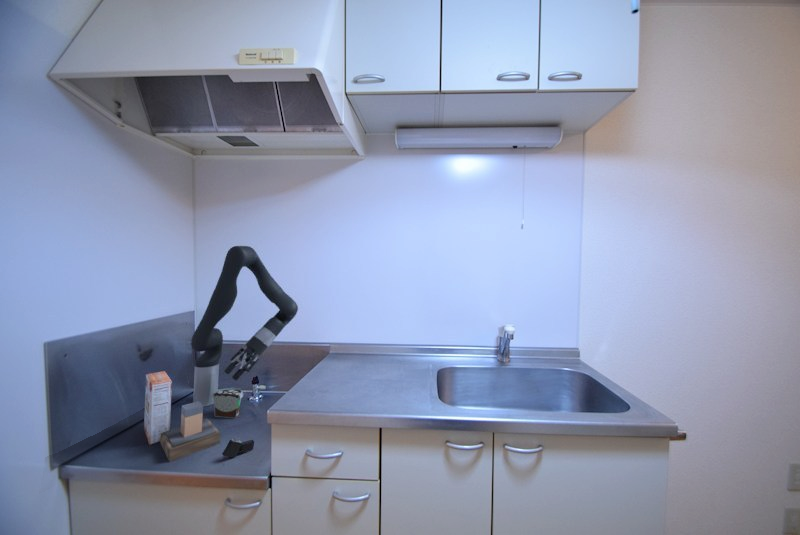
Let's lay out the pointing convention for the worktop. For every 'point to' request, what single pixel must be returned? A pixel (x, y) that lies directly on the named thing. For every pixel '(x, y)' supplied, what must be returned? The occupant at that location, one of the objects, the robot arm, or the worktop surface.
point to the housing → (191, 418)
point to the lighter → (237, 447)
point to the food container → (227, 402)
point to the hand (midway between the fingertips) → (229, 376)
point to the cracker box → (157, 405)
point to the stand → (189, 441)
